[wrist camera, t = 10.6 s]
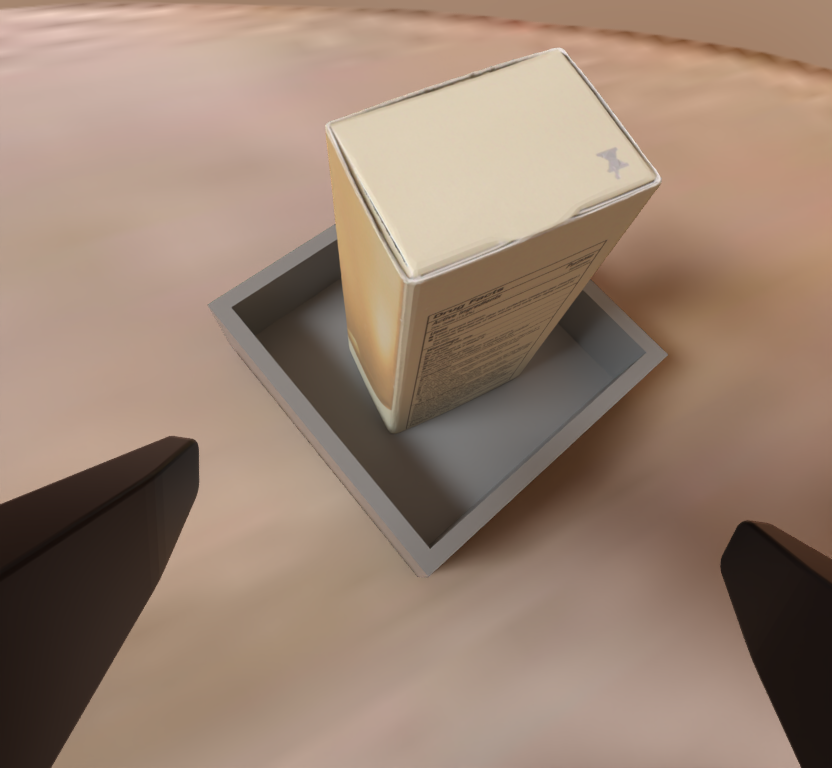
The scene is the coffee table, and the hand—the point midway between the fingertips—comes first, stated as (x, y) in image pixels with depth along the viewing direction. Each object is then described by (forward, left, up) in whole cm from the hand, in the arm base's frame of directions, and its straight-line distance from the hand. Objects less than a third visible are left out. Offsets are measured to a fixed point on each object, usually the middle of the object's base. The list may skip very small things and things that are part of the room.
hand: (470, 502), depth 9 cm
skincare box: (+5, -5, -12) cm, 14 cm away
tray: (+5, -6, -13) cm, 15 cm away
